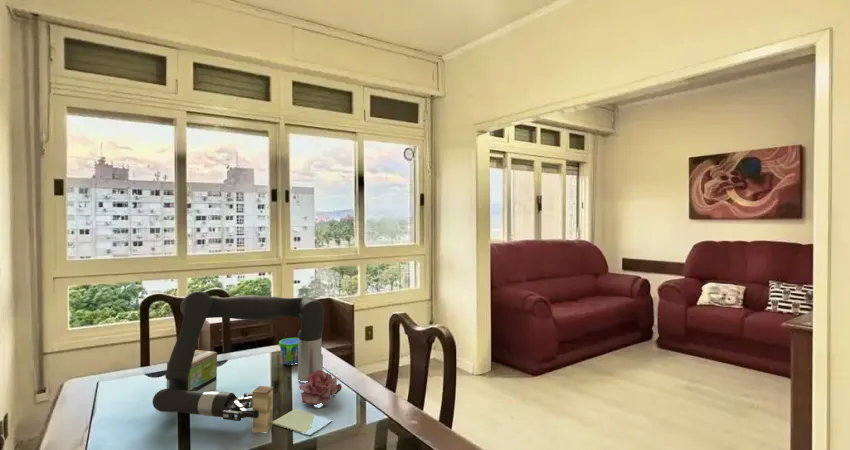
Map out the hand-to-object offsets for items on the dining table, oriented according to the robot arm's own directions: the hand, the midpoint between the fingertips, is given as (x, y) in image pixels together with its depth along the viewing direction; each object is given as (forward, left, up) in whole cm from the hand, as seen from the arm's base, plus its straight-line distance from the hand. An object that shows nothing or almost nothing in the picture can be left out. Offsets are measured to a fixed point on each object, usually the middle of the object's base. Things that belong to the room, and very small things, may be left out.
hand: (264, 408), depth 146 cm
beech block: (0, -1, -7) cm, 7 cm away
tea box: (-5, -42, -7) cm, 43 cm away
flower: (-25, +1, -7) cm, 26 cm away
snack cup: (-48, -34, -7) cm, 59 cm away
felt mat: (-9, +7, -7) cm, 14 cm away
